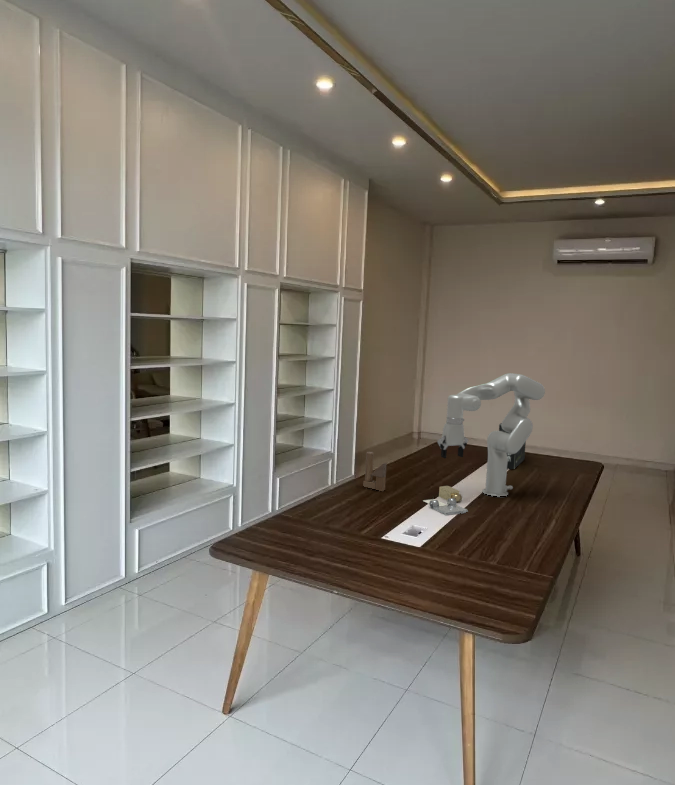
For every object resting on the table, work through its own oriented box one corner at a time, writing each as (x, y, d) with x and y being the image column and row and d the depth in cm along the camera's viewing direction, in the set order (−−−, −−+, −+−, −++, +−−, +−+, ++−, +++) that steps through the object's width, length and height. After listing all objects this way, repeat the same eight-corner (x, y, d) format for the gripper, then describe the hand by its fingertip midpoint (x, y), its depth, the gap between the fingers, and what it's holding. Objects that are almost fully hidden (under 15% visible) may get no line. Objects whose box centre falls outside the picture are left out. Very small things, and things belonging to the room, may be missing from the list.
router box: (507, 457, 375) (510, 416, 372) (524, 459, 370) (528, 418, 367) (495, 467, 343) (498, 423, 341) (514, 470, 338) (517, 425, 335)
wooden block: (381, 492, 280) (383, 455, 278) (362, 487, 286) (364, 452, 284) (385, 490, 283) (387, 454, 281) (366, 486, 289) (368, 451, 287)
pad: (435, 499, 271) (435, 499, 271) (447, 505, 263) (447, 505, 263) (422, 500, 268) (422, 500, 268) (434, 507, 260) (434, 506, 260)
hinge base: (452, 504, 265) (453, 496, 264) (469, 512, 254) (469, 504, 254) (427, 507, 259) (428, 499, 258) (443, 515, 248) (444, 507, 248)
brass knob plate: (447, 495, 279) (447, 485, 279) (462, 502, 269) (463, 492, 268) (438, 496, 277) (439, 486, 277) (453, 503, 267) (454, 493, 266)
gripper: (464, 419, 277) (461, 454, 279) (434, 420, 269) (432, 456, 271) (474, 422, 270) (471, 457, 272) (444, 423, 263) (441, 459, 265)
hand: (452, 457), depth 272 cm, fingers open, 9 cm apart
